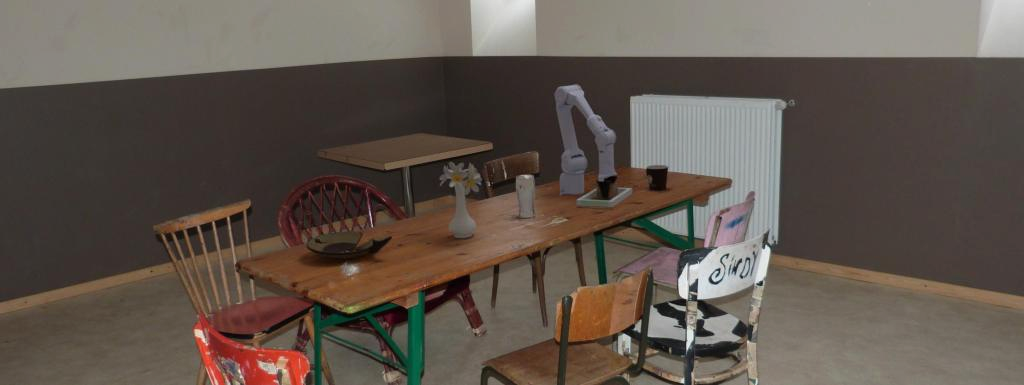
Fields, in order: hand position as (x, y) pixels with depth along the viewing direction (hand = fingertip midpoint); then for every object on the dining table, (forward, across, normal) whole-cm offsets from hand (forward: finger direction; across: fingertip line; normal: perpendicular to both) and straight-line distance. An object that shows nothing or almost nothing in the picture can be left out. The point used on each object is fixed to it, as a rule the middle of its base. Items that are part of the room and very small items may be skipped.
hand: (607, 195), depth 330 cm
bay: (+2, -3, 0) cm, 3 cm away
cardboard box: (+1, 0, 0) cm, 1 cm away
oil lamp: (+2, -95, +54) cm, 109 cm away
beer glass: (+2, -32, +20) cm, 38 cm away
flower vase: (+2, -63, +29) cm, 70 cm away
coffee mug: (+2, +21, -14) cm, 25 cm away
